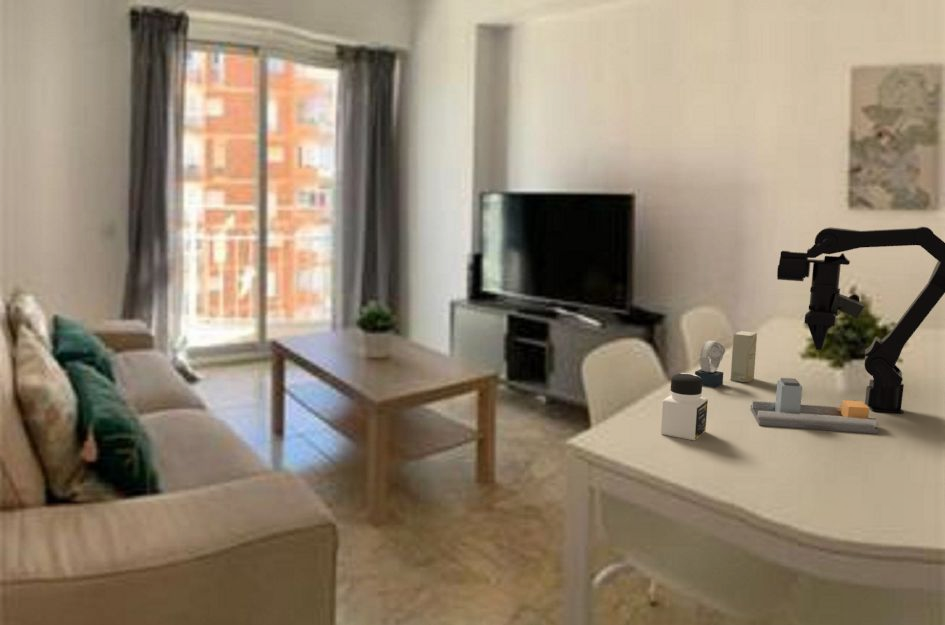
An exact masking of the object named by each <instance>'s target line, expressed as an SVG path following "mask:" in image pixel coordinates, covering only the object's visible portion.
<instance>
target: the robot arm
mask: <svg viewBox="0 0 945 625" xmlns="http://www.w3.org/2000/svg"><path fill="white" fill-rule="evenodd" d="M902 246H903V247H904V246H905V247H907V246H920V247H921V248H922V249H924V251H926V252H927V253H928V254H929V255H931V256H932V258H934V260H936V261H937V263H936V264H935V266H934V268H933V271H932V273H931V275H930V278H929V279H928V282H927V284H926V285H925V286H924V288H923V289H922V290H921V291H920V293H919V294H918V295H917V297H915V299H914V300H913V301H912V303H911V305H909V306H908V308H907V310H905V312H904V313H903V315H902V316H901V317H900V318H899V320H898V321H897V322H896V324H894V326H893V327H892V329H891V331H890V332H889V333H888V334H886V335H885V336H884V337H882V338H880V337H878V336H875V337H874V339H873V341H872V342H871V344H870V346H868V347H867V348H865V350H864V369H865V371H866V373H867V374H869V375H870V376H872V378H873V379H869V385H867V386H866V388H865V389H866V390H865V397H864V398H865V400H864V403H865V404H866V405H867V406H868V407H869V410H871V411H872V412H883V413H895V414H896V413H897V414H904V413H905V412H904V409H902V404H903V396H904V387H905V386H904V385H905V384H903V383H902V382H903V373H902V370H901V369H900V368H899V367H898V366H897V362H898V359H899V357H900V356H901V353H902V351H903V348H904V346H906V343H907V342H908V341H909V340H910V338H911V337H912V336H913V335H914V333H916V331H917V330H918V328H919V327H920V326H921V324H922V323H923V322H924V320H925V319H926V317H927V316H928V315H929V314H930V313H931V311H932V310H933V309H934V308H935V307H936V305H937V304H938V302H939V301H940V300H941V298H942V297H943V296H944V295H945V241H944V240H942V239H941V238H940V237H938V236H937V235H936V234H935V233H934V232H933V230H932V229H930V228H929V227H927V226H919V227H913V228H909V227H908V228H893V229H889V228H888V229H872V230H856V229H849V228H840V227H831V226H830V227H825V228H823V229H821V230H820V231H819V232H817V234H816V235H815V238H814V245H812V247H811V248H808V249H807V250H806V252H797V251H791V250H782V251H780V256H779V261H778V265H777V272H776V273H777V275H776V276H777V277H776V279H777V280H778V281H779V280H780V281H789V282H790V281H792V282H793V281H794V282H804V280H805V279H806V278H809V277H810V272H811V263H813V265H812V273H811V274H812V276H811V286H810V289H809V292H810V296H809V305H808V311H806V313H805V315H804V323H803V324H806V325H807V326H808V329H809V332H810V334H811V337H812V338H811V339H812V341H813V344H814V347H815V350H817V351H822V349H823V346H824V342H825V340H826V337H827V334H828V330H829V329H830V328H832V327H835V326H836V322H837V317H838V316H839V311H840V312H842V313H845V314H846V315H849V316H851V318H854V319H859V318H860V316H861V313H862V312H863V310H864V308H865V306H866V305H865V303H864V302H862V301H861V300H860V296H859V295H857V294H855V293H852V294H851V295H849V296H847V295H843V294H841V288H840V286H839V285H840V276H841V274H840V273H841V265H843V266H844V265H845V266H848V265H850V263H851V261H850V259H848V258H847V257H846V255H845V253H843V252H848V251H851V250H857V249H862V248H881V247H882V248H884V247H885V248H887V247H902ZM837 253H841V254H840V255H838V256H833V254H837ZM823 254H825V255H824V258H823V259H816V258H817V257H819V256H821V255H823Z"/></svg>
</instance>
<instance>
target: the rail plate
mask: <svg viewBox="0 0 945 625" xmlns="http://www.w3.org/2000/svg"><path fill="white" fill-rule="evenodd" d="M775 405H776V401H767V400H766V401H763V400H752V403H751V404H750V411H751V413H752V415H753V416H754V419H755V421H756V422H757V424H758V426H759V427H761V426H762V427H773V428H776V427H777V428H786V429H787V428H790V429H801V430H802V429H805V430H816V431H817V430H818V431H832V432H843V433H844V432H845V433H860V434H870V435H871V434H874V435H878V433H879V429H878V427H877V419H876V418H870V417H868V418H859V417H845V416H843V415H842V414H841V410H842V405H841V406H838V405H824V404H807V403H801V407H800V413H786V412H775ZM760 425H761V426H760Z"/></svg>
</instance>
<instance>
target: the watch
mask: <svg viewBox="0 0 945 625" xmlns="http://www.w3.org/2000/svg"><path fill="white" fill-rule="evenodd" d="M725 353H726V349H725V346H724V345H723V344H722V343H721V342H719V341H717V340H710V339H709V340H705V341H704V342H703V344H702V346H701V350H700V356H699V357H700V358H699V364H700V365H699V366H700V369H697V370H695V371H694V375H697V376H699V377H701V378H702V380H703V381H702V386H705V387H709V388H713V389H714V388H718V387H720V386H722V385H723V383H724V372H723V371H718V368H719V367H720V363H721V362H722V361H723V357H724V355H725Z"/></svg>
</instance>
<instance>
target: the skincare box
mask: <svg viewBox="0 0 945 625" xmlns="http://www.w3.org/2000/svg"><path fill="white" fill-rule="evenodd" d="M757 337H758V332H754V331H753V332H752V331H744V330H740V331H737V332H736V333H733V337H732V339H733V340H732V352H731V353H732V354H731V368H730V381H734V382H739V383H740V382H741V383H748V382H750V381H752V380H754V379H755V367H756V355H757V354H756V353H757V341H758V340H757Z"/></svg>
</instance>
